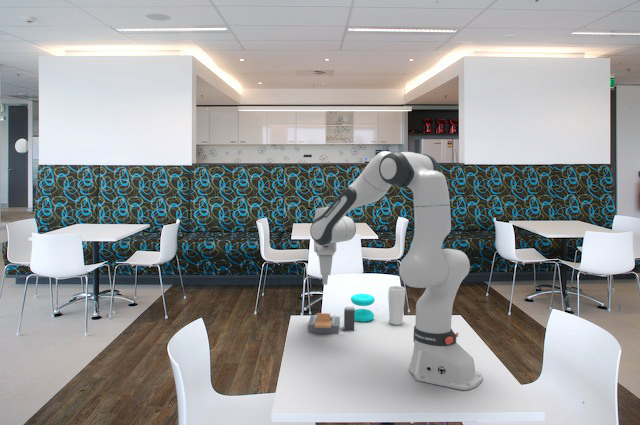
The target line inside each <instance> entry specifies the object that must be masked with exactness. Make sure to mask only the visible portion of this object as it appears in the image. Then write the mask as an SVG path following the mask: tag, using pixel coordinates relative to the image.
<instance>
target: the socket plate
mask: <svg viewBox="0 0 640 425" xmlns="http://www.w3.org/2000/svg"><path fill="white" fill-rule="evenodd" d="M316 320H317V313H316V314H314V315H310V317H309V320H308V323H307V333H310V334H311V333H313V334H314V333H315V334H337V335H338V334H339V332H340V324H341V321H340V320H341V317H340V316H336V314H333V316H332V315H330V321H332V324H331V328H315V322H316Z"/></svg>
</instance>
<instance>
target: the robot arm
mask: <svg viewBox="0 0 640 425" xmlns="http://www.w3.org/2000/svg"><path fill="white" fill-rule="evenodd" d="M392 186H395V187H397V188H402V189H406V188H409V189H410V190H411V192H412V195H413V213H414V233H413V237H412V241H411V245H410V248H409V249H408V252H406V255H405V256H404V257H403V258H402V259H401V261H400V264H399V268H398V269H399V270H398V271H399V276H400V278H401V280H402V282H403V283H404V284H405V285H406V286H408V287H411V288H419V289H424V292H423V293H422V295H421V296H420V297H419V298H418V300H417V302H416V303H415V323H414V324H415V325H414V326H413V339H412V340H413V350H412V355H411V360H410V363H409V367H408V371H409V373H411V374H412V375H413V377H414V379H415V380H416V381H419V382H422V383H427V384H432V385H438V386H441V387H446V388H451V389H455V390H460V391H467V390H468V391H469V390H472V389H474V388H476V387H477V386H479V385H480V384H481V383H482V381H483V375H482V372H480V371H478V370H477V371H476V368H475V367H476V366H475V361H474V358H473V356H472V355H471V354H469V353H468V352H467V351H466V350H465V349H464V348H463V347H462V346H461V345H460V344H459V343H458V342H457V338H458V337H459V332H456V333H455V332H454V331H453V329H452V318H453V316H452V315H453V306H454V302H455V298H456V295H457V292H458V290H459V288H460V285H461V283H462V282H463V280H464V279H465V278H466V277H467V276H468V274H469V272H470V269H471V264H470V259H469V258H468V255H466V253H465V252H464V251H462V250H459V249H454V248H442V247H443V244H444V240H445V238H446V237H447V236H448V235H449V234H450V232H451V231H452V219H451V217H452V216H451V215H452V214H451V203H450V202H451V201H450V193H449V187H448V182H447V178H446V176H445V175H444V173H443V172H440V171H439V164H438V162H437V160H436V159H435V158H434V157H433V156H431V155H428V154H426V153H418V152H417V153H416V152H412V151H402V152H401V151H393V152H391V151H387V150H383V151H380V152H379V153H377V154H376V155H375V156H374V157H373V158H372V159H371V160H370V161H369V163H368V164H366V166H365V168H364V169H363V170H362V172H361V173H360V174H359V176H358V177H357V178H355V180H354V181H353V182H352V183H350V185H349V186H347V187H346V188H345V189H344V190H343V191H342V192H340V194H339V195H338V196H337V197H336V198H335V199H334V201H333V202H331V204H330V205H327V206H325V205H324V206H319V207H317V208H316V210H315V213H314V220H313V221H312V224H311V226H310V229H309V230H310V231H309V232H310V236H311V239H312V240H313V252H315V253H316V256H318V261H319V262H318V263H319V269H320V270H319V271H320V275H321V279H322V285H324V286H326V285H328V278H329V276H330V275H331V272H332V267H333V266H332V264H333V257H334V255H335V253H336V252H337V243H341V242H348V241H351V240H352V239H353V238H354V237H355V235H356V233H357V232H356V230H357V226H356V223H355V221H354V220H353V218H351V217H350V216H347V214H348V213H349V212H351V211H352V210H354V209H356V208H359V207H362V206H365V205H370V204H373V203H376V202H378V201H379V200H380V199H382V198H383V197H384V196H385V195H386V194H387V192H388V191H390V188H391V187H392Z"/></svg>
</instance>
